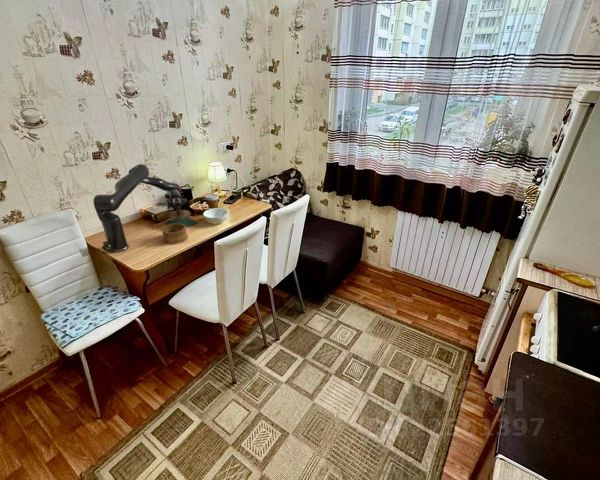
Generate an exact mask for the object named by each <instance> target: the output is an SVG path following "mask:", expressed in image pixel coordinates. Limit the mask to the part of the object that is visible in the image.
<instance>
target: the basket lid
mask: <svg viewBox="0 0 600 480" xmlns="http://www.w3.org/2000/svg"><path fill="white" fill-rule="evenodd" d="M175 204H176V208H175V210H173V211H171V212H169V213H168V214H167V218H168V219H170V220H174V219H183V218H186V217H190V216H191V212H190V211H189V210H186V209H181V207H180V205H179V201H176V202H175Z"/></svg>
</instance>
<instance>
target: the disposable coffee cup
mask: <svg viewBox="0 0 600 480" xmlns="http://www.w3.org/2000/svg"><path fill="white" fill-rule="evenodd" d="M219 198H220V196H219V195H218V194H216V193H209V194H207V195H205V200H206V203H207V207H208V209H209V208H210V209H213V208H219Z"/></svg>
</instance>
